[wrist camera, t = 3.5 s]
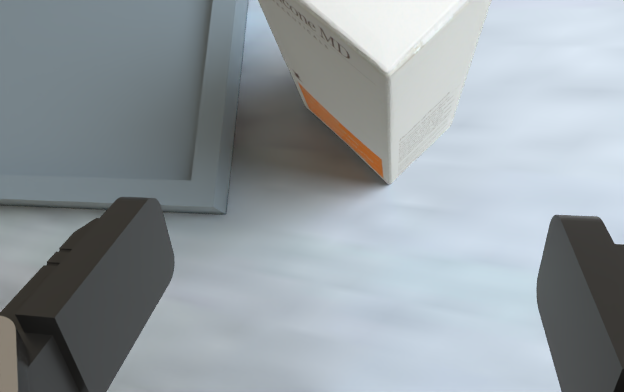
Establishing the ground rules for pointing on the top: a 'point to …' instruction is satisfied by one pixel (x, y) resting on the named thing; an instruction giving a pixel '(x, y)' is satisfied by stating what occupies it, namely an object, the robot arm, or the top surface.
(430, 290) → the top surface
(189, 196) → the tray
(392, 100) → the skincare box
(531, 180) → the top surface
